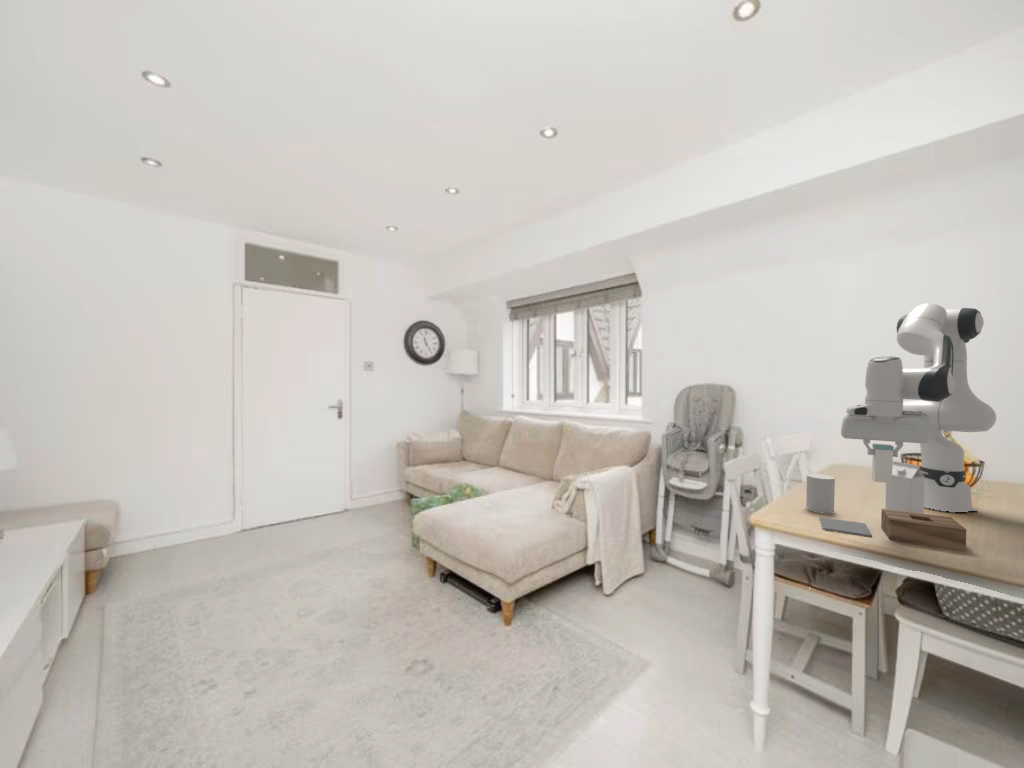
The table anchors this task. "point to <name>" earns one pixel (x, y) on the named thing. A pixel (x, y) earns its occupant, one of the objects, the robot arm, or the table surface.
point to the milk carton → (905, 488)
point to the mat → (845, 526)
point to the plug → (882, 463)
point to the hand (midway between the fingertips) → (882, 455)
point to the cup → (820, 493)
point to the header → (923, 529)
